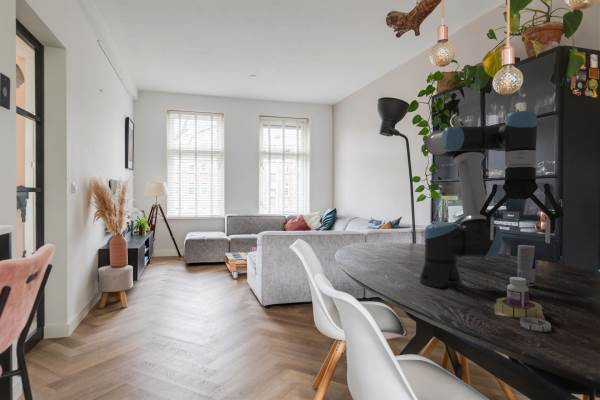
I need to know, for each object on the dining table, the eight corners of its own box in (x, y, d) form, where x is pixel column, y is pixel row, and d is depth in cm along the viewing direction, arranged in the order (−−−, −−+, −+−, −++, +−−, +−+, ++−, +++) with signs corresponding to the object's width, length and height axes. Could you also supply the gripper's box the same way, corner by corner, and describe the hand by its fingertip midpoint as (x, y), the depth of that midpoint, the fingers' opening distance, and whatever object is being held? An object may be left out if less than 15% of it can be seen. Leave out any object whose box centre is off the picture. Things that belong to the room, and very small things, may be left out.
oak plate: (494, 317, 100) (494, 314, 100) (494, 306, 109) (494, 303, 109) (546, 324, 94) (546, 321, 94) (540, 312, 104) (541, 309, 104)
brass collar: (496, 314, 99) (496, 305, 99) (496, 303, 109) (496, 295, 109) (544, 321, 94) (544, 311, 94) (538, 309, 104) (539, 300, 104)
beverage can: (537, 287, 131) (538, 247, 131) (521, 286, 132) (521, 246, 132) (531, 283, 137) (531, 244, 136) (515, 282, 138) (515, 244, 137)
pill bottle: (520, 308, 104) (520, 276, 104) (533, 314, 99) (533, 280, 99) (502, 308, 104) (503, 276, 104) (514, 315, 99) (515, 280, 99)
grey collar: (521, 331, 89) (521, 323, 89) (519, 323, 95) (519, 315, 95) (552, 336, 86) (552, 328, 86) (548, 327, 92) (548, 320, 92)
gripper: (470, 167, 103) (470, 239, 104) (577, 164, 92) (576, 246, 92) (472, 168, 110) (471, 236, 111) (571, 166, 98) (570, 242, 99)
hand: (518, 241), depth 101 cm, fingers open, 13 cm apart
